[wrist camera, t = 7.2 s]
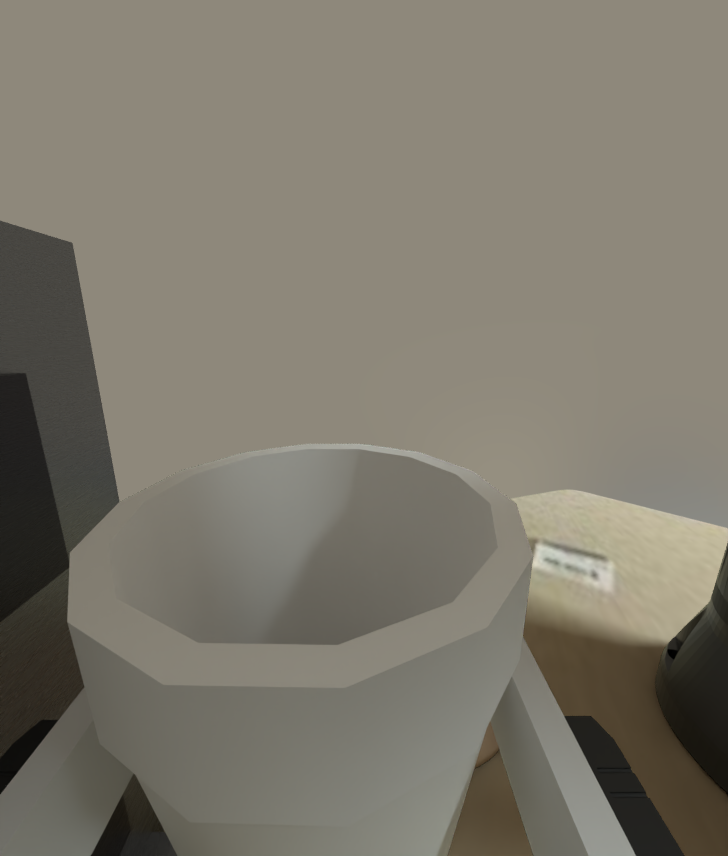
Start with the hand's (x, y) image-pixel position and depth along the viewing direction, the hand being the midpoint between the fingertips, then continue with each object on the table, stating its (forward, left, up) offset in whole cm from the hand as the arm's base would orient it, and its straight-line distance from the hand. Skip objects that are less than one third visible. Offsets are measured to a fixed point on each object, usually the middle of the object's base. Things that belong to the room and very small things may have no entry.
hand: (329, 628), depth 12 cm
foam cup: (0, +2, -8) cm, 8 cm away
